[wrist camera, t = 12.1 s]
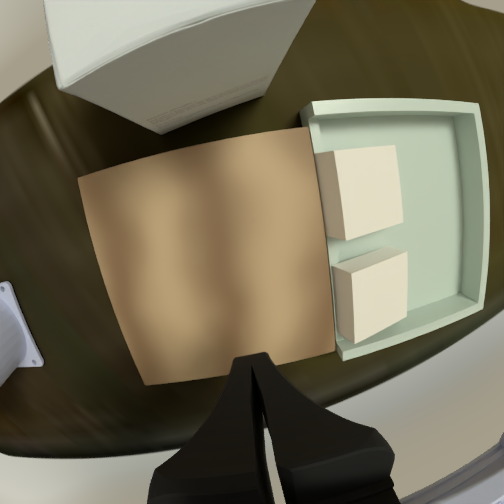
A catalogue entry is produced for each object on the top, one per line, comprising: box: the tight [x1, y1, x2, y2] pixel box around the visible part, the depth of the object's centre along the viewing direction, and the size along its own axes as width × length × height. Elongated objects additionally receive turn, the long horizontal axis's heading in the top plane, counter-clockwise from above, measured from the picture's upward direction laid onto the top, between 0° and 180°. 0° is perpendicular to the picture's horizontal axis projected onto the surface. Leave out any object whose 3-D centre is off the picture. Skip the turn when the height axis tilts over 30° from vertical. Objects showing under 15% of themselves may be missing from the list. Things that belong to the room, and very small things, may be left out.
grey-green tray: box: [299, 98, 490, 361], centre depth 19 cm, size 14×17×3 cm
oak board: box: [78, 127, 336, 385], centre depth 19 cm, size 14×15×2 cm
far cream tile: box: [332, 246, 408, 344], centre depth 20 cm, size 5×5×2 cm
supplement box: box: [43, 0, 316, 135], centre depth 11 cm, size 7×7×13 cm
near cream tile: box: [314, 145, 403, 241], centre depth 18 cm, size 5×5×2 cm
